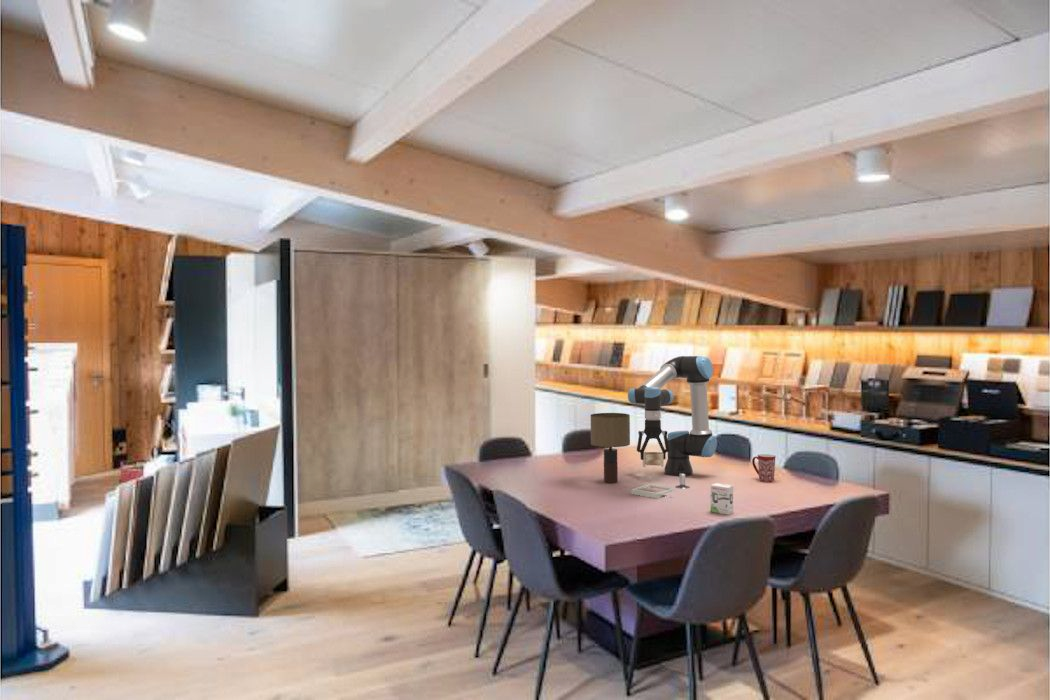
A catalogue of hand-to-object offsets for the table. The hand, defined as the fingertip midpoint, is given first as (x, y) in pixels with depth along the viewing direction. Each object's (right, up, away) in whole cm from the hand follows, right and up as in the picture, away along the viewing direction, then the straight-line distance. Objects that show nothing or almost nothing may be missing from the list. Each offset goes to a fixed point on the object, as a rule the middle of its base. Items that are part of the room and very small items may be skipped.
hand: (653, 466), depth 343 cm
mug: (+62, -12, +28) cm, 69 cm away
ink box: (+23, -14, -36) cm, 45 cm away
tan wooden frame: (0, +1, 0) cm, 1 cm away
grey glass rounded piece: (+16, -13, +8) cm, 22 cm away
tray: (0, -13, 0) cm, 13 cm away
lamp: (-17, -13, +29) cm, 36 cm away
